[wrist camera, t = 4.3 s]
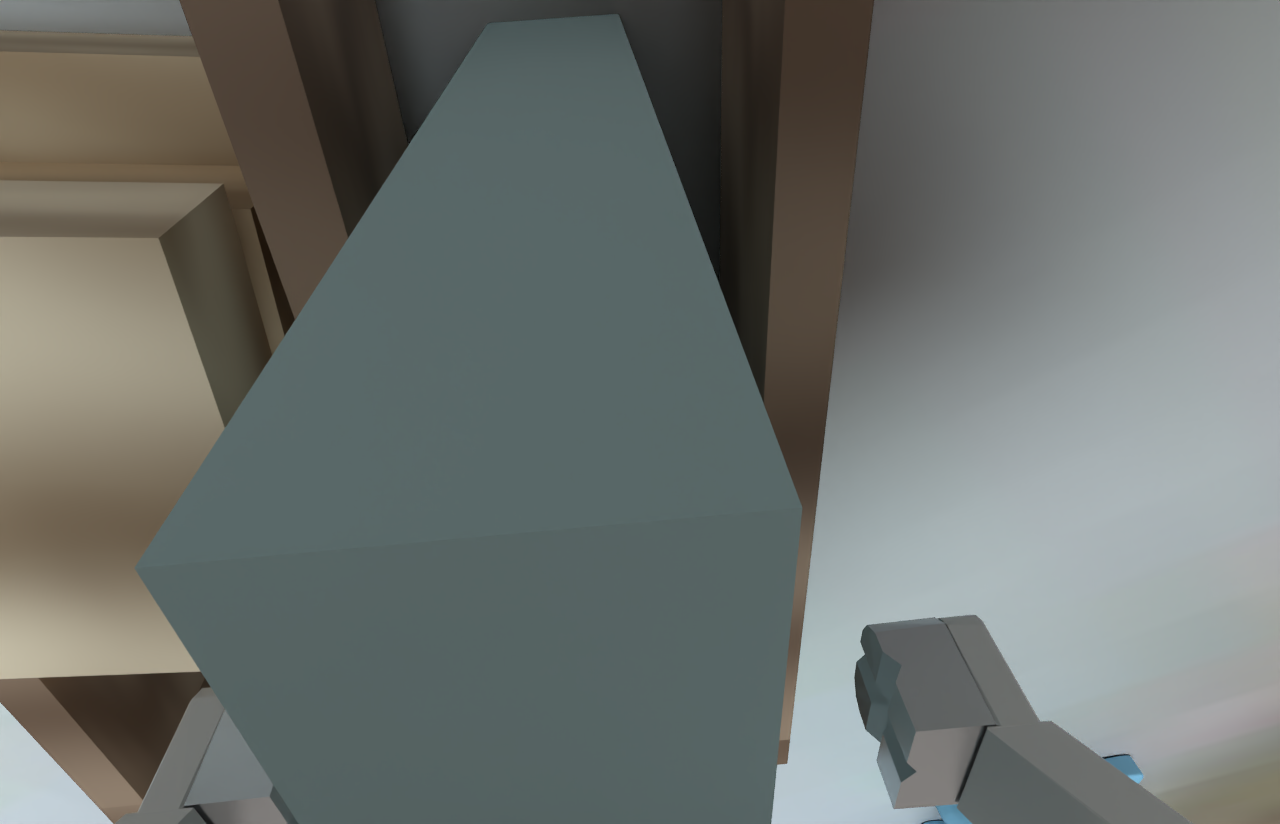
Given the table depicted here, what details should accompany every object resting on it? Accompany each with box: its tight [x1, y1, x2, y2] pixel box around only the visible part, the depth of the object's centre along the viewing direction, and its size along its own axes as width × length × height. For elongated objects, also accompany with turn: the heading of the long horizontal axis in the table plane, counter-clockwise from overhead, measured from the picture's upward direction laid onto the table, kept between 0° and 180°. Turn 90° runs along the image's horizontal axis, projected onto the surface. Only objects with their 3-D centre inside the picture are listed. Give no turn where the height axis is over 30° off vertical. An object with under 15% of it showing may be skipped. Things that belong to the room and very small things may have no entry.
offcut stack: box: [0, 30, 295, 679], centre depth 15 cm, size 13×7×7 cm, turn 178°
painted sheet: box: [134, 14, 802, 824], centre depth 13 cm, size 14×2×14 cm, turn 3°
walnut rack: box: [0, 0, 874, 824], centre depth 16 cm, size 21×18×5 cm
